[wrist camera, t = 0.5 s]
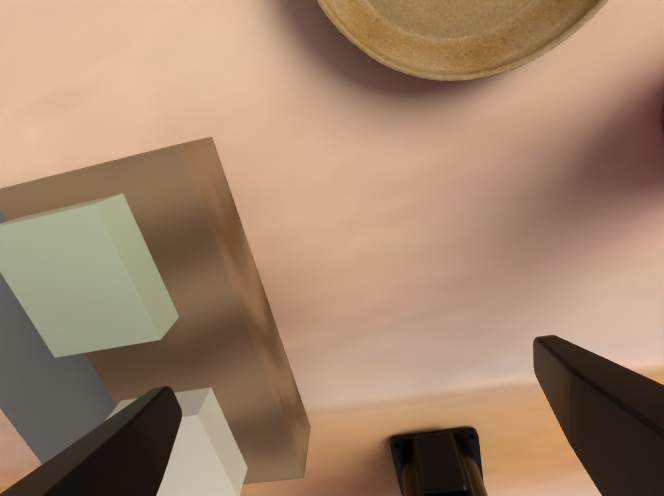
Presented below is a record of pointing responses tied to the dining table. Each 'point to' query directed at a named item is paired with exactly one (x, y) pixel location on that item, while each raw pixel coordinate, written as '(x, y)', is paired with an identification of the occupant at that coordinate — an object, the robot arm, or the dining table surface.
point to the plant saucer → (457, 32)
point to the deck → (194, 299)
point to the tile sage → (86, 277)
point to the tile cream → (201, 450)
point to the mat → (45, 384)
